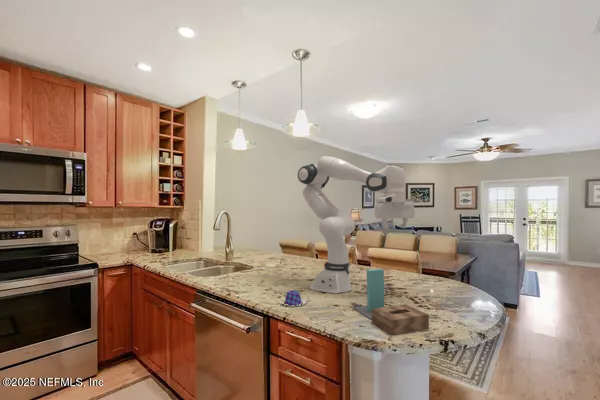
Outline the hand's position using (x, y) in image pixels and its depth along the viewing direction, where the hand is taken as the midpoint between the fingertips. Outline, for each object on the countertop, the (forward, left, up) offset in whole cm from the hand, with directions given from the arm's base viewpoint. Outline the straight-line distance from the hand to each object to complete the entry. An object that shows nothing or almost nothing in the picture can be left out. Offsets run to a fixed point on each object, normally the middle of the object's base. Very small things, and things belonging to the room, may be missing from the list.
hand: (395, 228), depth 137 cm
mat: (-7, -18, -34) cm, 39 cm away
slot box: (+2, -30, -34) cm, 45 cm away
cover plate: (-8, -18, -33) cm, 39 cm away
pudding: (-45, -19, -34) cm, 59 cm away
